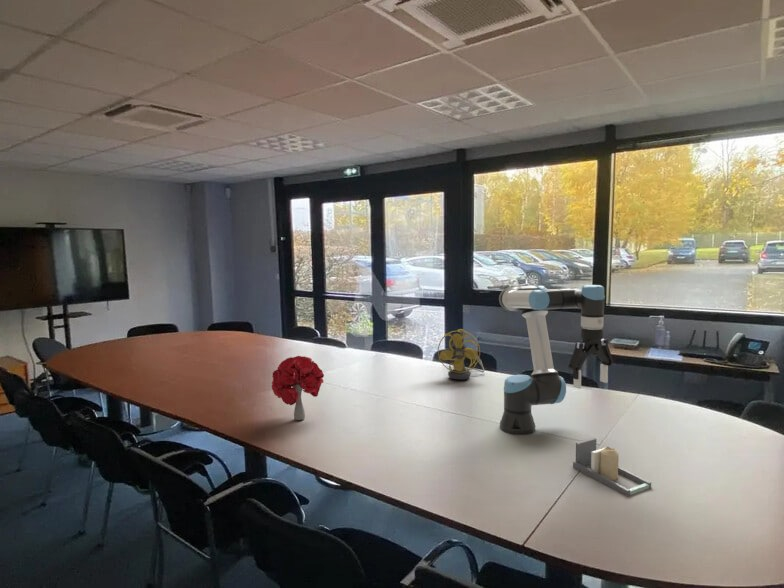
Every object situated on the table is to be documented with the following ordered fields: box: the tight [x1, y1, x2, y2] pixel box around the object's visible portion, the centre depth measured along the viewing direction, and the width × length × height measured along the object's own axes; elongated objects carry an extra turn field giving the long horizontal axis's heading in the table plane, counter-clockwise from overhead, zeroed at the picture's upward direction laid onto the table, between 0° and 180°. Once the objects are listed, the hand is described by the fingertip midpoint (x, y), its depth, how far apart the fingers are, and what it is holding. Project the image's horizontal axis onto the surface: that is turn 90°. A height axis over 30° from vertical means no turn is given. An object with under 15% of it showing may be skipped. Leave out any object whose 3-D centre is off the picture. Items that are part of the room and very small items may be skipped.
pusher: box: [590, 446, 607, 474], centre depth 159 cm, size 1×8×8 cm, turn 115°
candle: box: [599, 446, 619, 481], centre depth 156 cm, size 6×6×10 cm
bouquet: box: [271, 355, 325, 421], centre depth 215 cm, size 22×24×30 cm
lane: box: [572, 437, 652, 497], centre depth 156 cm, size 22×11×9 cm, turn 25°
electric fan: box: [437, 328, 485, 380], centre depth 284 cm, size 26×32×30 cm
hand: (590, 384), depth 166 cm, fingers open, 13 cm apart
